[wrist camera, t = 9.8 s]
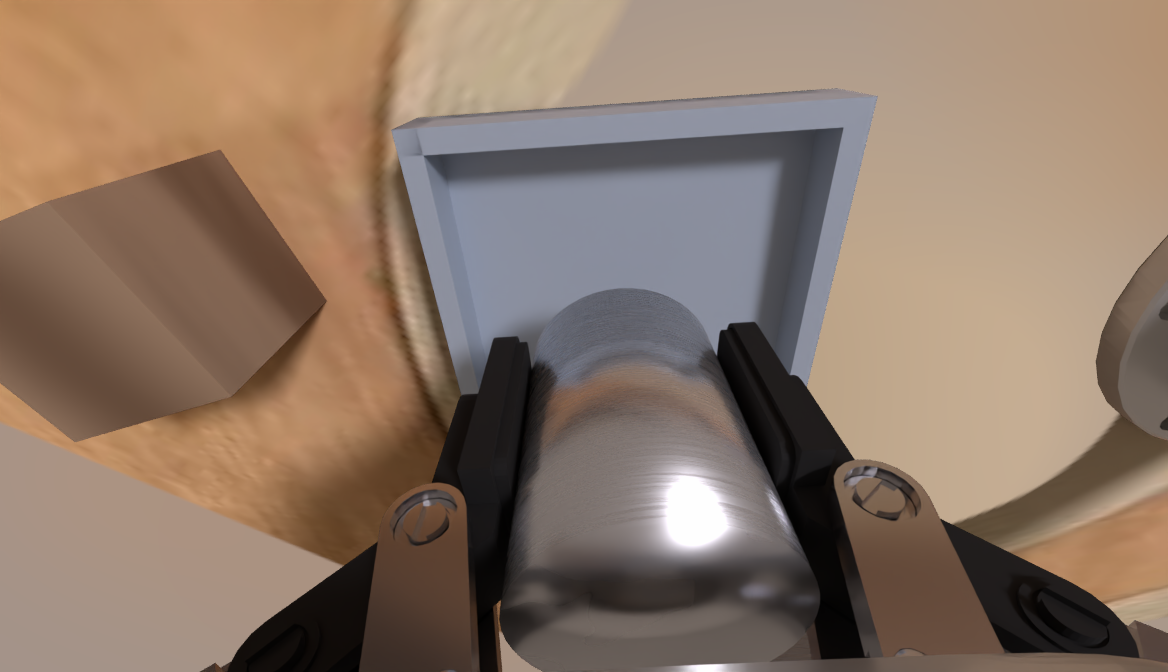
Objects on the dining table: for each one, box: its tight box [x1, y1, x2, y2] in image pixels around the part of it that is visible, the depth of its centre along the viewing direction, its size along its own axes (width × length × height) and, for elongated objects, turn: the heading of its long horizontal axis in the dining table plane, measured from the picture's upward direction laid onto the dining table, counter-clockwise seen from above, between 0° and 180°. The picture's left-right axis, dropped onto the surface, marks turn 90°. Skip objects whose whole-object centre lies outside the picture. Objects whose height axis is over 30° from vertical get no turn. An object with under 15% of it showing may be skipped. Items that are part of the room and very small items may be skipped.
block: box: [0, 150, 327, 442], centre depth 13 cm, size 5×5×5 cm
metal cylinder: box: [499, 288, 820, 672], centre depth 9 cm, size 4×4×6 cm
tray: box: [392, 88, 877, 396], centre depth 14 cm, size 11×11×2 cm
